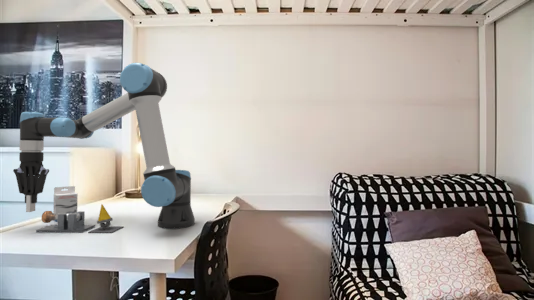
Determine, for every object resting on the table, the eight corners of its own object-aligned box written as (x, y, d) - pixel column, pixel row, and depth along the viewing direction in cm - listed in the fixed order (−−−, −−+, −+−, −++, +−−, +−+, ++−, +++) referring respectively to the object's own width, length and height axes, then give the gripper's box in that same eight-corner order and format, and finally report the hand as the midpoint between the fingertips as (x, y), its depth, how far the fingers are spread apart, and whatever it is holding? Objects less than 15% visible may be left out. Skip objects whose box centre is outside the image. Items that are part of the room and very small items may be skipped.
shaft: (82, 221, 122) (82, 210, 122) (75, 224, 117) (75, 212, 118) (50, 221, 122) (50, 209, 123) (41, 224, 118) (41, 212, 118)
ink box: (55, 222, 134) (55, 188, 134) (53, 220, 137) (53, 187, 137) (77, 218, 139) (77, 186, 140) (75, 217, 143) (75, 185, 143)
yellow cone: (107, 229, 116) (102, 203, 117) (95, 231, 117) (90, 206, 118) (116, 226, 121) (112, 201, 122) (105, 228, 123) (101, 203, 123)
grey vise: (94, 227, 124) (95, 211, 124) (82, 232, 116) (82, 215, 116) (51, 227, 124) (51, 210, 124) (35, 232, 116) (36, 215, 116)
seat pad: (123, 227, 124) (123, 226, 124) (111, 233, 115) (111, 232, 115) (101, 227, 124) (101, 226, 124) (88, 233, 115) (88, 232, 115)
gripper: (54, 151, 124) (53, 209, 124) (23, 151, 124) (22, 209, 124) (40, 151, 117) (39, 213, 116) (7, 151, 117) (6, 213, 117)
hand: (30, 211), depth 120 cm, fingers closed
